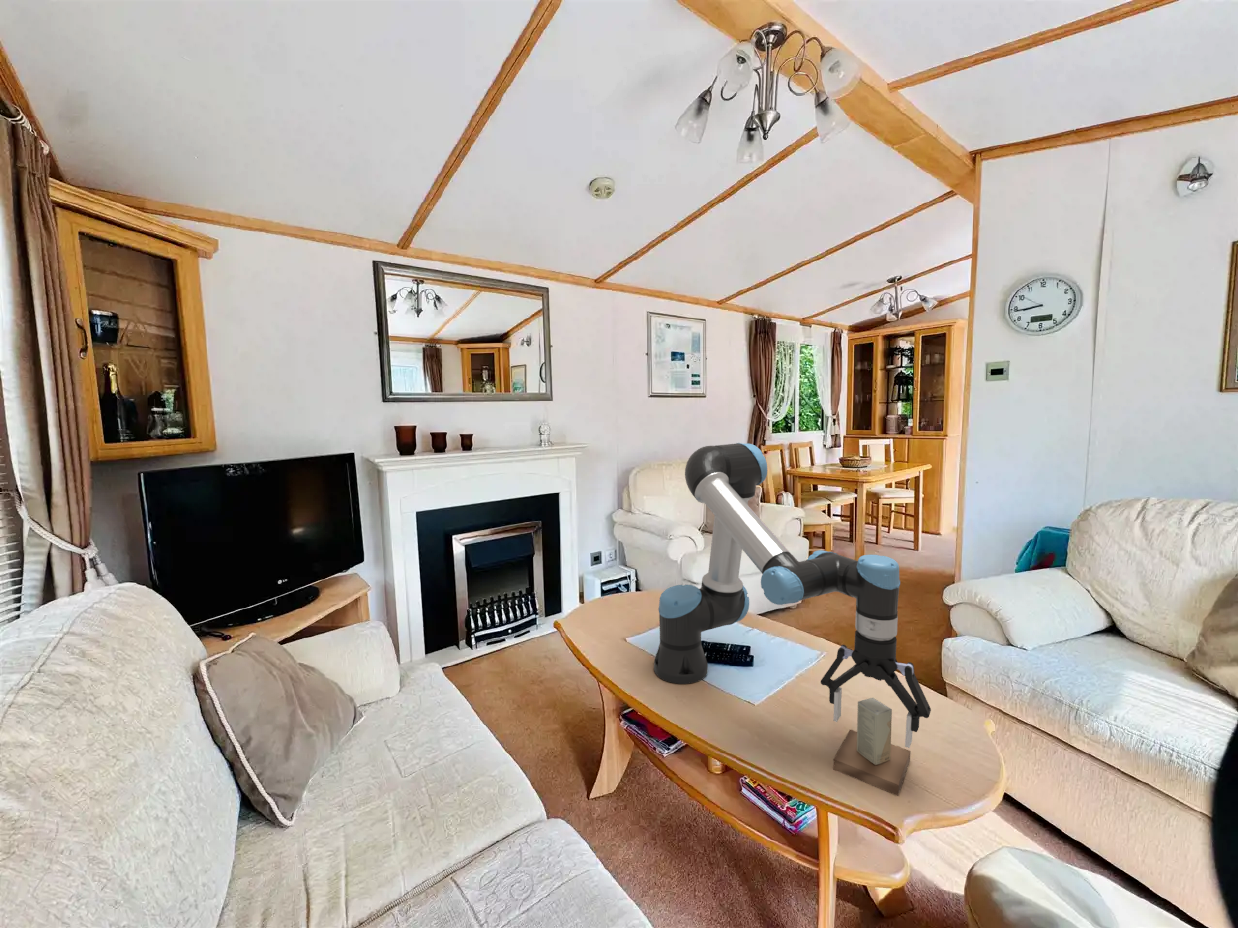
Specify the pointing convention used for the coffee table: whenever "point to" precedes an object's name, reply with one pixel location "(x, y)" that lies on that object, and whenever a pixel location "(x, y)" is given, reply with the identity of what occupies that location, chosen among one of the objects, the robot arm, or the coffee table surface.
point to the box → (874, 730)
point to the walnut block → (872, 765)
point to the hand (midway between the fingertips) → (871, 730)
